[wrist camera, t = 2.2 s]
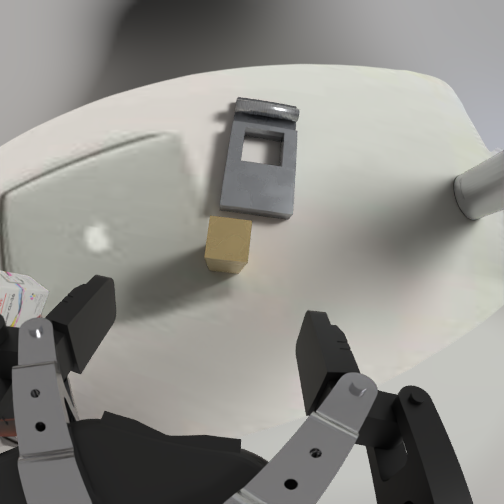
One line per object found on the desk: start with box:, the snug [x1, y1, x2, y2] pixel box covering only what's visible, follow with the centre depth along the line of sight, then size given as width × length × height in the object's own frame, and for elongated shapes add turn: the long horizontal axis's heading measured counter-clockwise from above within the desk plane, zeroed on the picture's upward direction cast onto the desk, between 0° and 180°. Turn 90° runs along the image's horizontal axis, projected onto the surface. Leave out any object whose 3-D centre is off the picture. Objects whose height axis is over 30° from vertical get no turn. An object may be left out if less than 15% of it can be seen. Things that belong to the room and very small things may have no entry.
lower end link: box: [234, 97, 299, 167], centre depth 37 cm, size 9×13×3 cm
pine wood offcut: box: [204, 216, 252, 274], centre depth 30 cm, size 4×4×12 cm
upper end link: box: [220, 121, 297, 219], centre depth 37 cm, size 9×12×2 cm
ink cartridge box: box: [0, 271, 49, 328], centre depth 24 cm, size 9×5×15 cm, turn 154°
